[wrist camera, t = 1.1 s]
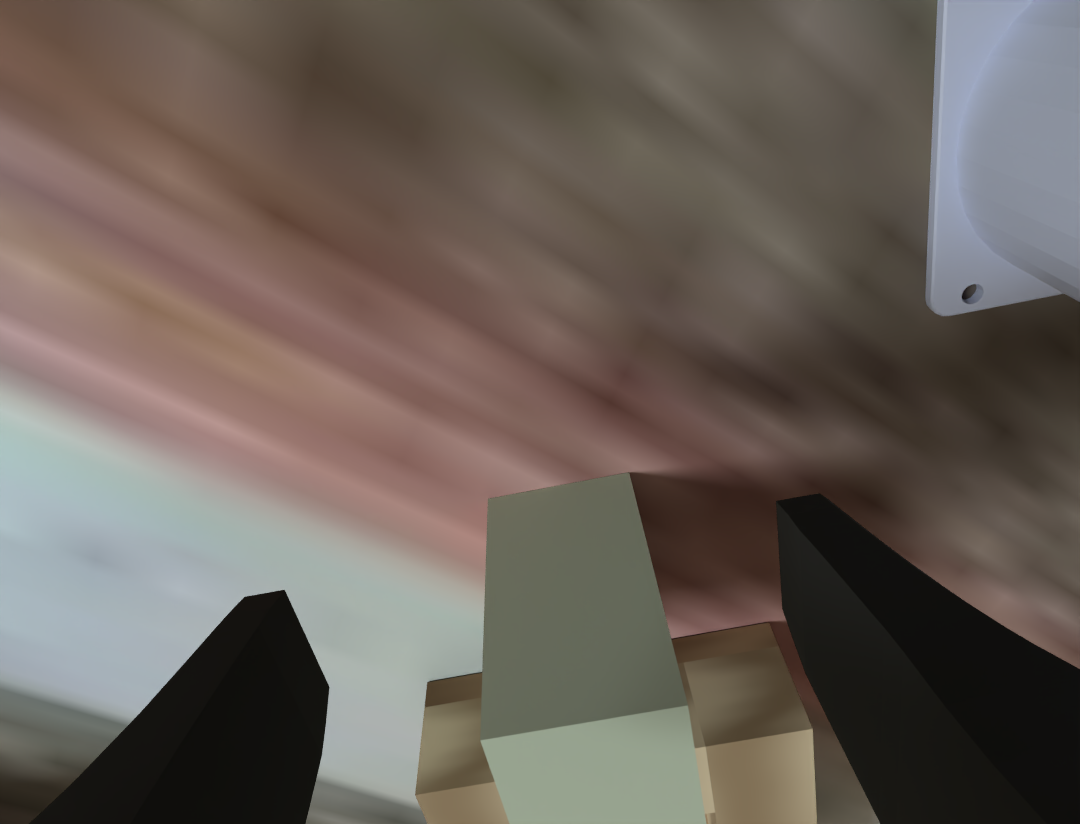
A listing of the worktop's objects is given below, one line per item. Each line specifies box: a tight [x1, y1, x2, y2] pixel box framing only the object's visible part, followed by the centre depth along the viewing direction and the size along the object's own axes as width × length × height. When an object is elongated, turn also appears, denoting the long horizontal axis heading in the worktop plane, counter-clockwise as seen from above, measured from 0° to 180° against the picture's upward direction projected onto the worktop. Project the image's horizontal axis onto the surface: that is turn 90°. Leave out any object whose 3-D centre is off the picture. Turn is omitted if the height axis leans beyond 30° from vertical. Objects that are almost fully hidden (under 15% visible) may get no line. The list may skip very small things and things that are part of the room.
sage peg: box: [480, 472, 706, 824], centre depth 19 cm, size 4×4×8 cm
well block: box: [415, 623, 817, 824], centre depth 26 cm, size 11×11×4 cm
